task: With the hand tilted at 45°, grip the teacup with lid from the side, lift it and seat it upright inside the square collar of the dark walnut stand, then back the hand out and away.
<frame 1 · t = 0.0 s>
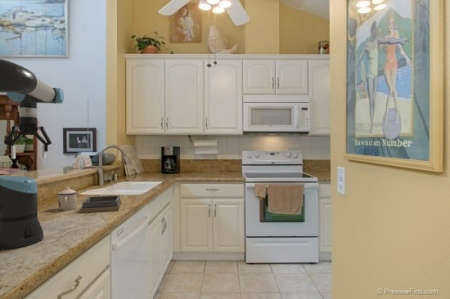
hand: (29, 158, 144), 28 cm above the counter, tool pointing down, fingers open, 13 cm apart
teacup with lid: (67, 209, 153), on the counter
collar stand: (102, 207, 156), on the counter
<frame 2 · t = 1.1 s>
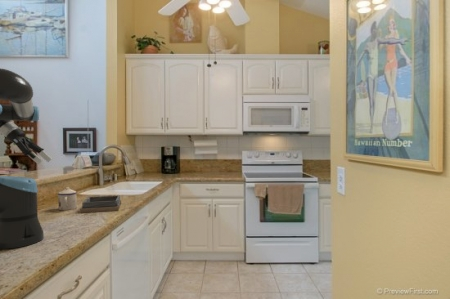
hand: (45, 161, 150), 26 cm above the counter, tool tilted 45°, fingers open, 13 cm apart
nothing on the counter moved.
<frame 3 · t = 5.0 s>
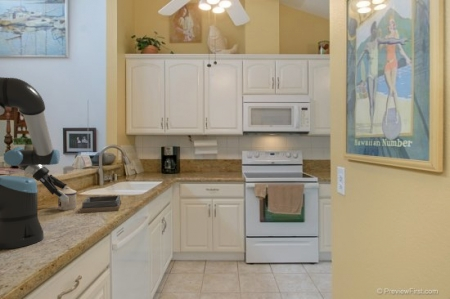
hand: (70, 197, 153), 6 cm above the counter, tool tilted 45°, fingers open, 13 cm apart
teacup with lid: (67, 209, 153), on the counter, touching gripper
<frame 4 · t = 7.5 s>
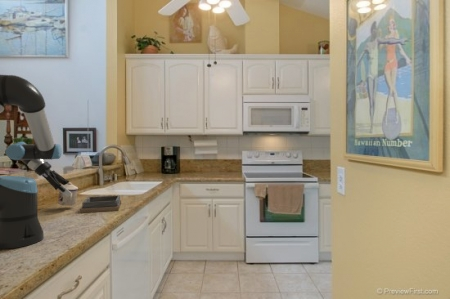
hand: (72, 193, 154), 8 cm above the counter, tool tilted 45°, fingers closed on teacup with lid, 11 cm apart
teacup with lid: (67, 204, 153), point 2 cm above the counter, touching gripper
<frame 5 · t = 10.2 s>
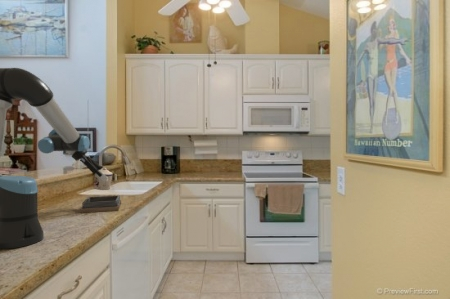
hand: (107, 178, 156), 16 cm above the counter, tool tilted 45°, fingers closed on teacup with lid, 11 cm apart
teacup with lid: (102, 189, 156), point 10 cm above the counter, touching gripper
when the fingers open (8 cm above the counter, at t = 12.8 s): teacup with lid stays where it is, resting on collar stand.
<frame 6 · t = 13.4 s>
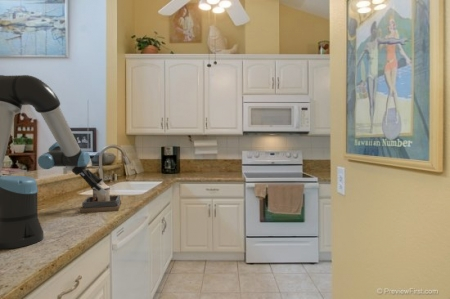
hand: (106, 192, 156), 9 cm above the counter, tool tilted 45°, fingers open, 13 cm apart
teacup with lid: (102, 204, 156), point 2 cm above the counter, touching collar stand
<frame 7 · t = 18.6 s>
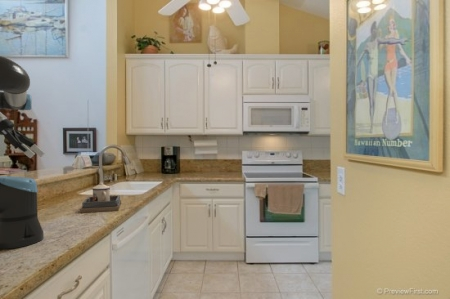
hand: (38, 155, 136), 30 cm above the counter, tool tilted 45°, fingers open, 13 cm apart
nothing on the counter moved.
at the end: teacup with lid inside the target area on the collar stand (0.5 cm from its centre), point 1.8 cm above the collar stand's base; teacup with lid tilted 0°; the gripper is holding nothing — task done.
